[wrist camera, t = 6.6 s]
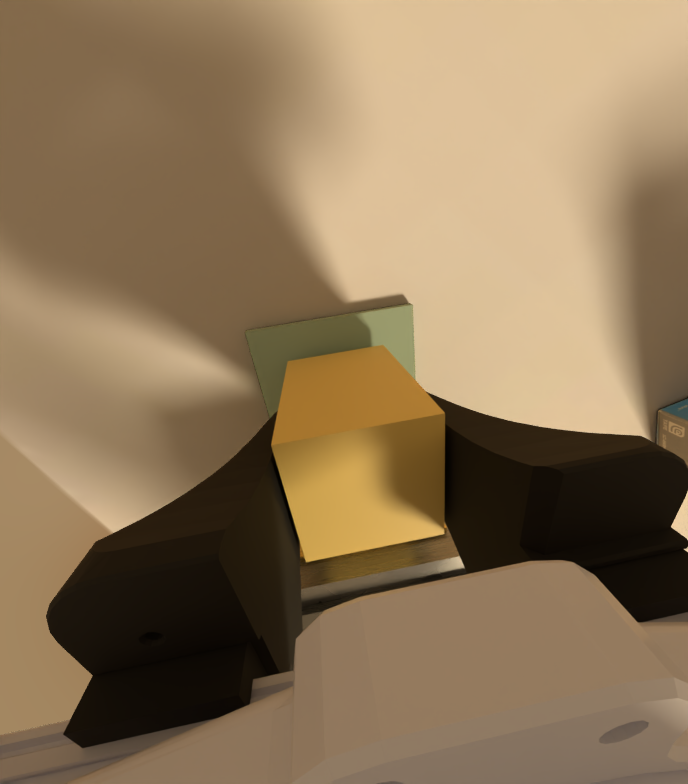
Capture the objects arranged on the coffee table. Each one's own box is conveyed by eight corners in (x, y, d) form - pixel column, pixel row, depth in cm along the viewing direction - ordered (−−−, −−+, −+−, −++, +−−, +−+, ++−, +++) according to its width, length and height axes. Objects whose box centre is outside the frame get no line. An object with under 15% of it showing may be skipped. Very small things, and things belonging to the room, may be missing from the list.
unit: (434, 536, 19) (489, 656, 13) (297, 564, 19) (293, 699, 13) (433, 445, 16) (504, 550, 10) (268, 476, 15) (246, 603, 10)
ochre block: (390, 426, 14) (444, 534, 8) (306, 441, 14) (306, 562, 8) (383, 344, 12) (445, 412, 7) (287, 361, 12) (271, 445, 6)
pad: (415, 438, 16) (417, 442, 15) (284, 462, 15) (284, 467, 15) (409, 303, 12) (412, 304, 12) (246, 330, 12) (244, 332, 12)
